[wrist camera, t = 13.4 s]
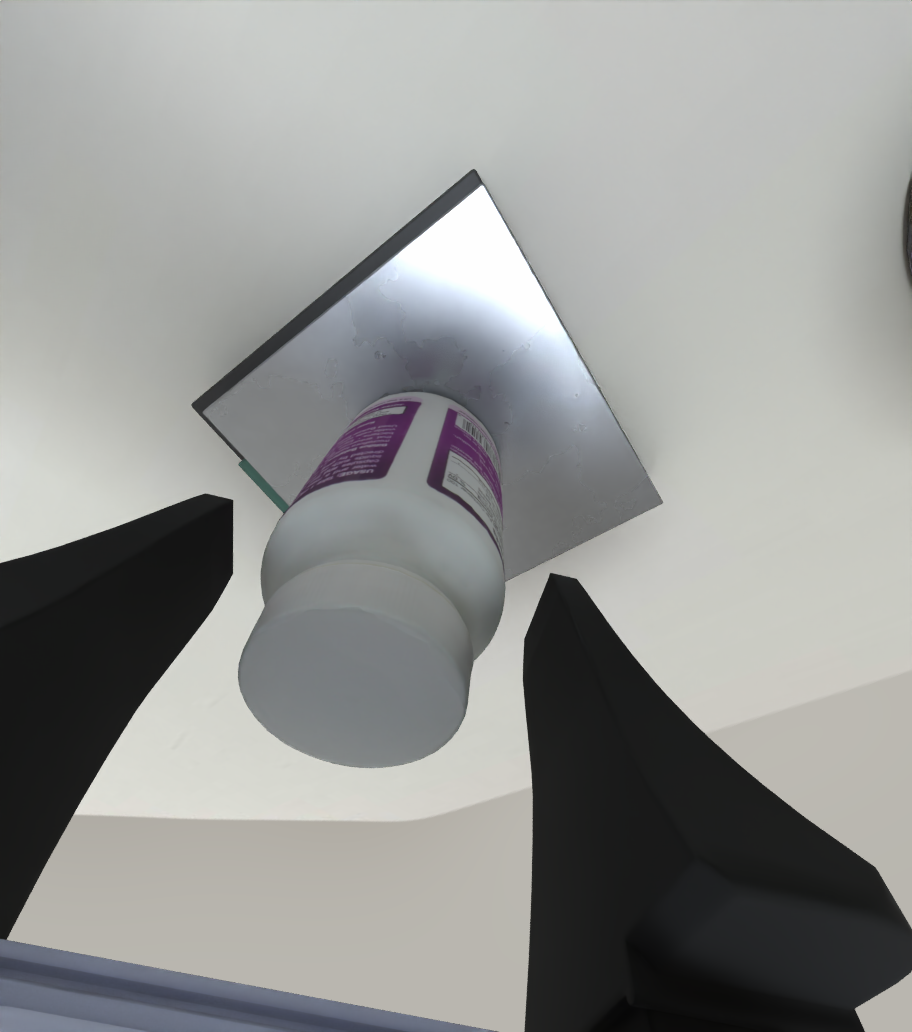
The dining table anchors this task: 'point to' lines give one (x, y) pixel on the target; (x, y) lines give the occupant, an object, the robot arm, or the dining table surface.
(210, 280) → the dining table surface
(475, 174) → the base
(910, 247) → the canister
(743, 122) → the dining table surface
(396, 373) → the pan
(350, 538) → the pill bottle
